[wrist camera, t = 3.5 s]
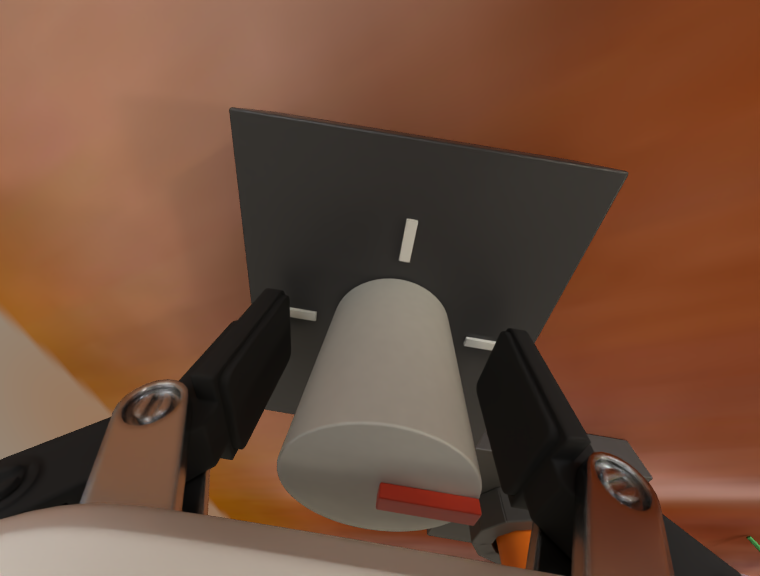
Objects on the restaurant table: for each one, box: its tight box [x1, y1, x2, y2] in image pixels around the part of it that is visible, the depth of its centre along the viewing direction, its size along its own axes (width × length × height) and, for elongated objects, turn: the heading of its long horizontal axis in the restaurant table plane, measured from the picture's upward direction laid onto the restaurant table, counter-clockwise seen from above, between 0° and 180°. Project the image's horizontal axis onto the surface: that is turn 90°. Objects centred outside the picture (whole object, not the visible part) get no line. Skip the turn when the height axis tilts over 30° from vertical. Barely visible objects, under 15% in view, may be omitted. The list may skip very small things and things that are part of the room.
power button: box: [496, 530, 531, 569], centre depth 16 cm, size 4×4×2 cm
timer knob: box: [277, 279, 482, 531], centre depth 8 cm, size 4×4×6 cm
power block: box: [427, 431, 653, 564], centre depth 19 cm, size 12×10×4 cm
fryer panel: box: [229, 107, 628, 445], centre depth 12 cm, size 13×11×3 cm
